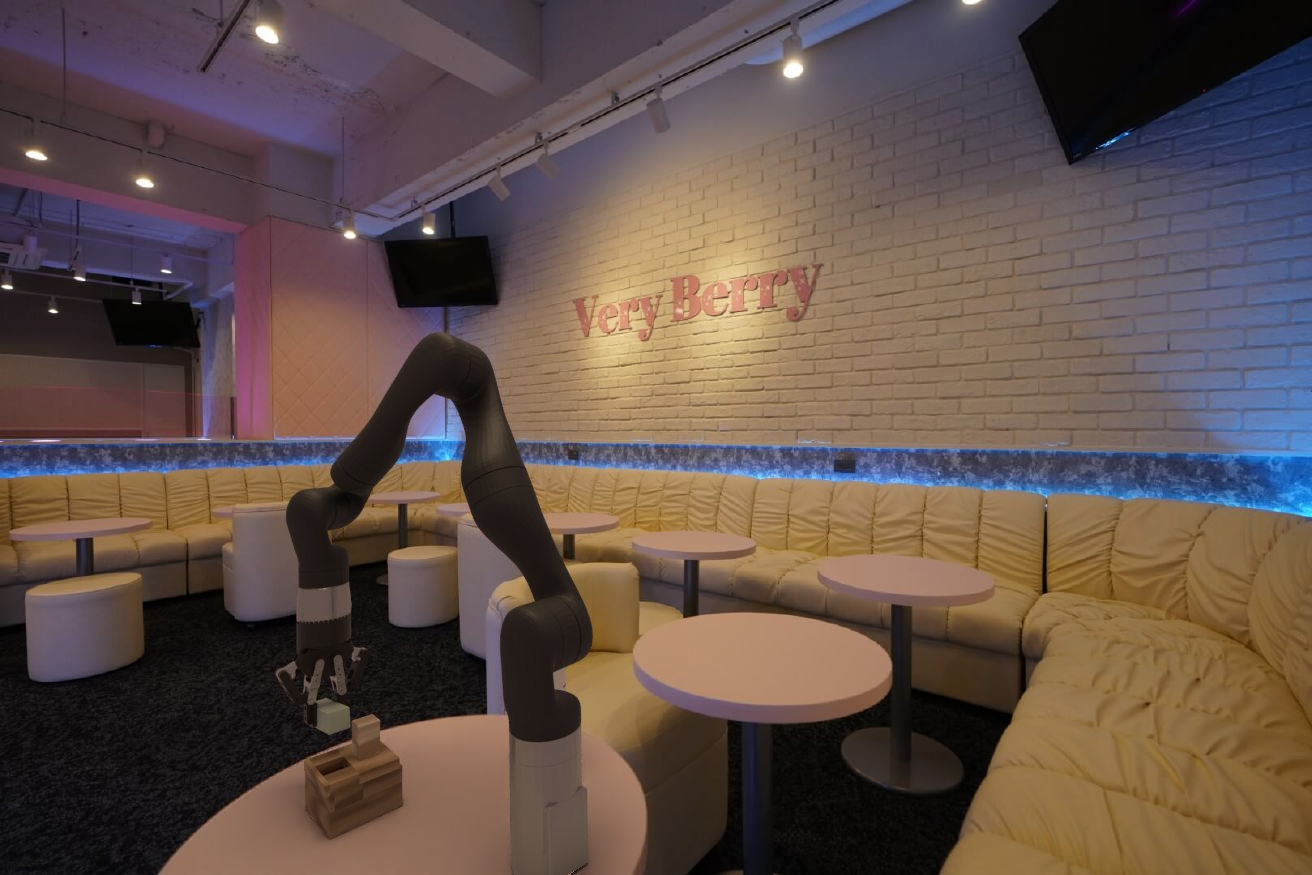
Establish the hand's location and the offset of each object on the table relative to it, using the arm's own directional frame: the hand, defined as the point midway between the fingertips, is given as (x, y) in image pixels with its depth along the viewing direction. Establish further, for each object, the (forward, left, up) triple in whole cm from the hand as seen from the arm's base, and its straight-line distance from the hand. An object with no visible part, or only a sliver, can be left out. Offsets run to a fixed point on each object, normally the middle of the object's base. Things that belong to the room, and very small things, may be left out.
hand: (324, 721), depth 92 cm
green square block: (-6, 0, +2) cm, 6 cm away
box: (-9, -1, -10) cm, 14 cm away
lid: (-10, -1, -4) cm, 11 cm away
